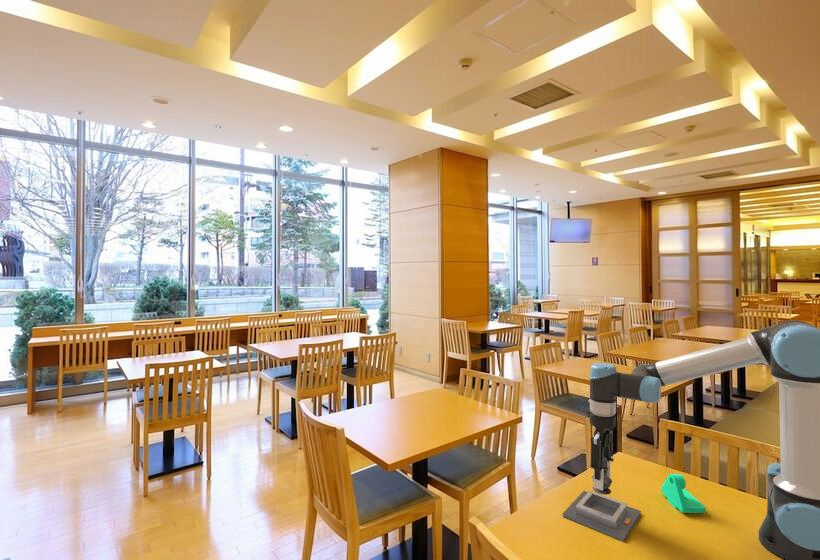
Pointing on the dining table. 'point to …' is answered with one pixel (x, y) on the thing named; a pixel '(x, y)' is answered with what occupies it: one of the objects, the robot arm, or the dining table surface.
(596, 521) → the plate
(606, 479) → the gray metallic stepped cylinder
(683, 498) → the camera mount
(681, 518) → the dining table surface
